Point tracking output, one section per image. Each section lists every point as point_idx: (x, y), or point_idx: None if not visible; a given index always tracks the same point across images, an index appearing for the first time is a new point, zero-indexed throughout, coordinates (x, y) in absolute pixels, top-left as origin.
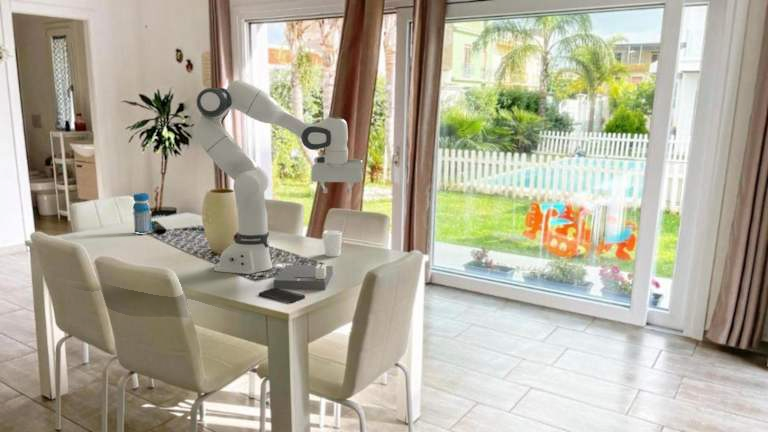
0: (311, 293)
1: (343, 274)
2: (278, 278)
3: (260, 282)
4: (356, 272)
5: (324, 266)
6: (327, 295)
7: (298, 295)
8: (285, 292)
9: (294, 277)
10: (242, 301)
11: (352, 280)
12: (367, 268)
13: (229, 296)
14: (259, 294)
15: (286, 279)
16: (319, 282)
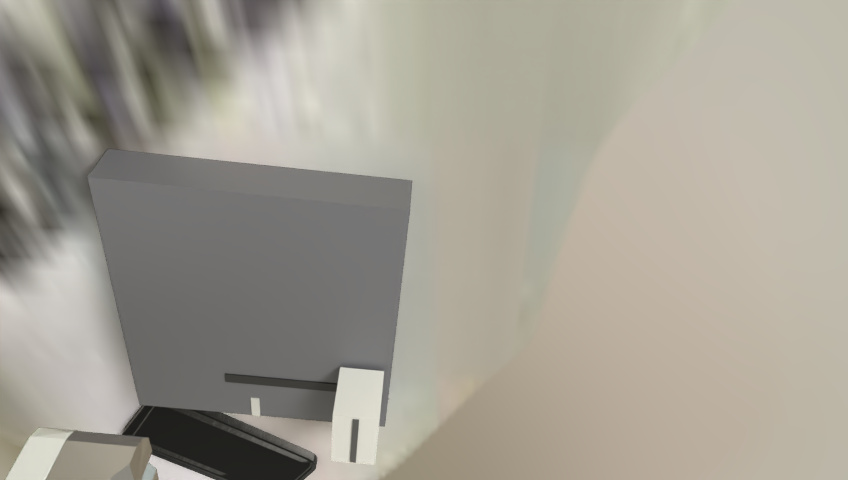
0: None
1: (479, 195)
2: (151, 386)
3: (46, 300)
4: (566, 160)
5: (373, 444)
6: (403, 443)
7: (289, 457)
8: (227, 432)
9: (226, 381)
10: None
11: (523, 293)
12: (663, 71)
13: (16, 434)
14: None
15: (196, 399)
16: None
